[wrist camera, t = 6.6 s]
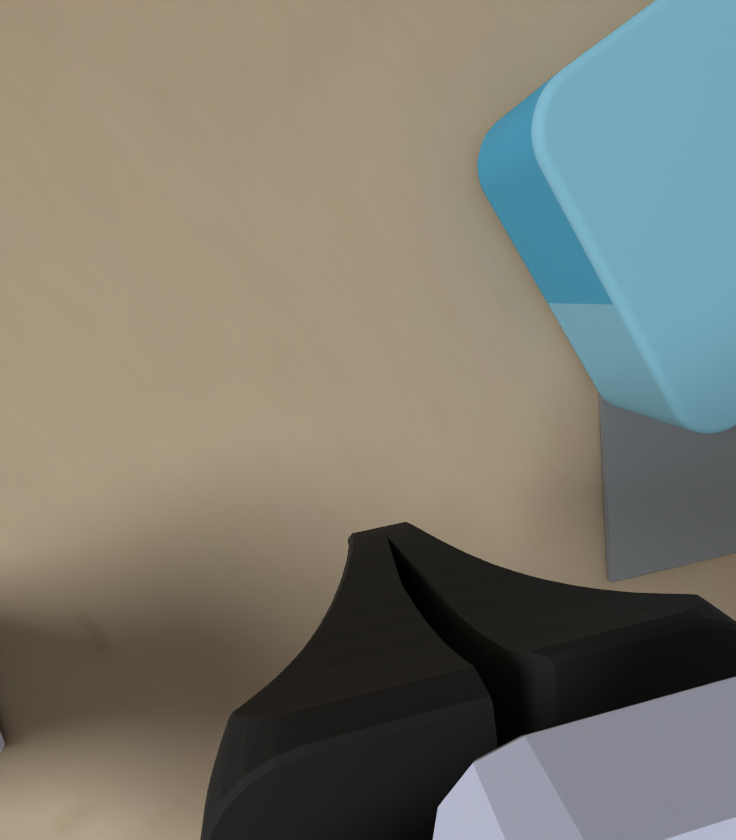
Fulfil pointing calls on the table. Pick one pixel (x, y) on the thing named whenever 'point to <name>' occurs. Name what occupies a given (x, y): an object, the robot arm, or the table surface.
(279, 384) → the table surface
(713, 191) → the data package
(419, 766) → the robot arm
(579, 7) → the table surface
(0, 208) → the table surface
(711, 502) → the mat
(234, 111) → the table surface
